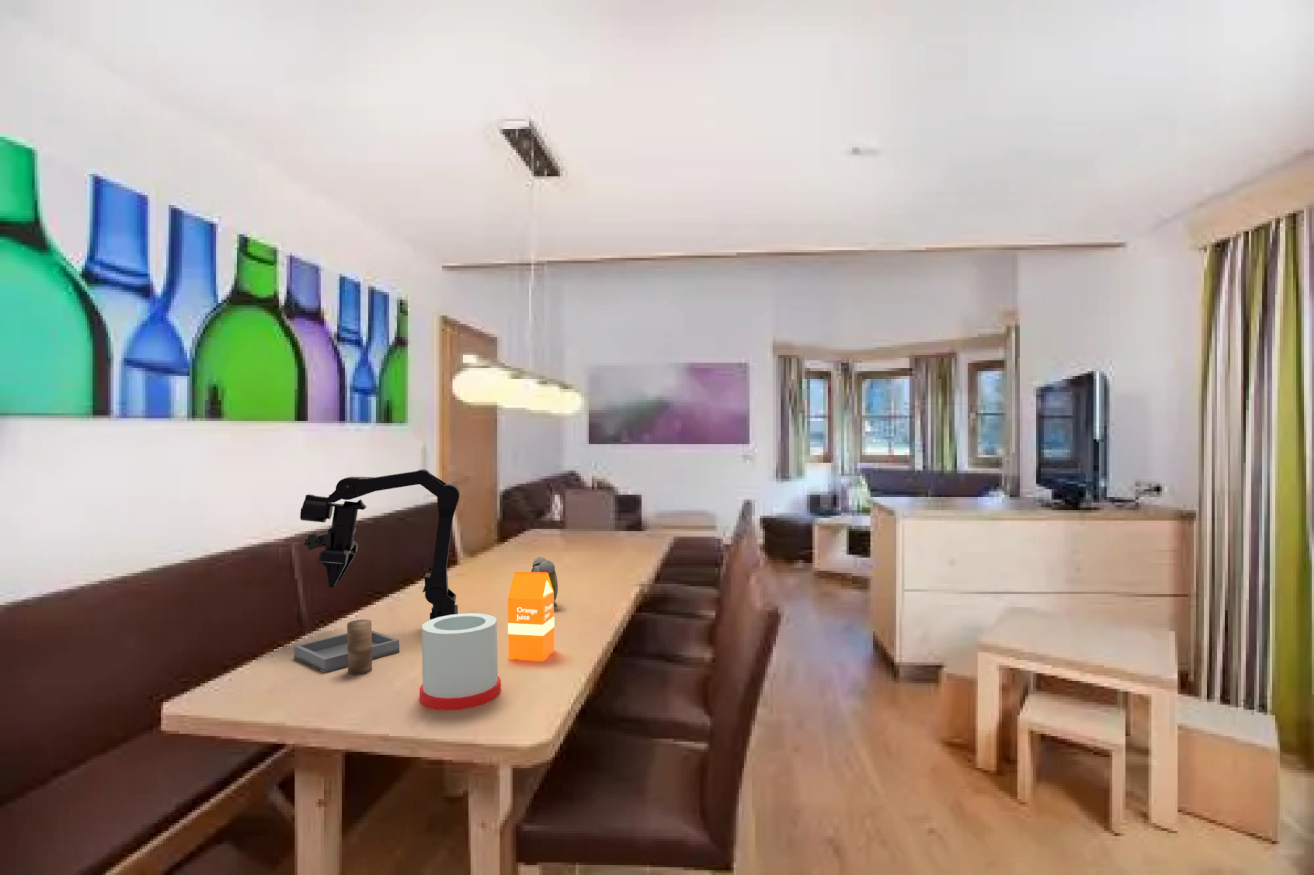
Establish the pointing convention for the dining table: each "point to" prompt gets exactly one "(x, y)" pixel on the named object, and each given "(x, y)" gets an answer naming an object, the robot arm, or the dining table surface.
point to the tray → (340, 651)
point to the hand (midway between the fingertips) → (334, 583)
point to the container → (459, 661)
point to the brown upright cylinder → (359, 647)
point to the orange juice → (530, 616)
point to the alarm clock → (547, 567)
